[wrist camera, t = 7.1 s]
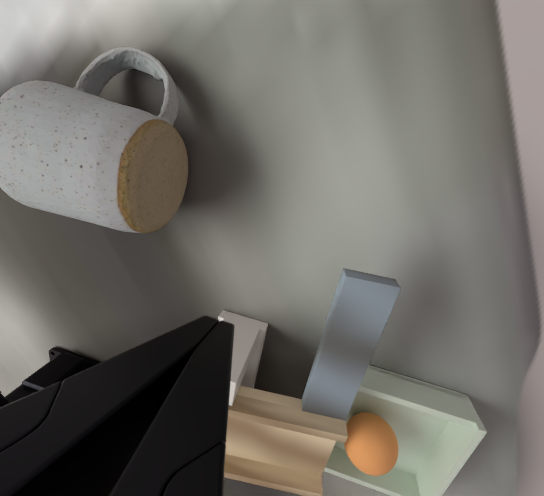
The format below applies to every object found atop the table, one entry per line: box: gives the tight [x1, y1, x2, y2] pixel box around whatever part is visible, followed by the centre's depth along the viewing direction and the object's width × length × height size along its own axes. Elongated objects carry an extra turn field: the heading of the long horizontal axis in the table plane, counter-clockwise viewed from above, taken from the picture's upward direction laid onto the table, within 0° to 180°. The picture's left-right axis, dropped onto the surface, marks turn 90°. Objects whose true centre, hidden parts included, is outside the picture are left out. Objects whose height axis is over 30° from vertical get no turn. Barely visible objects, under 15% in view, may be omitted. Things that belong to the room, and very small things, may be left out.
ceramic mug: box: [0, 47, 188, 233], centre depth 16 cm, size 11×8×8 cm
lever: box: [158, 268, 401, 496], centre depth 19 cm, size 18×15×5 cm
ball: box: [344, 412, 399, 476], centre depth 21 cm, size 4×4×4 cm
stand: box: [218, 310, 268, 406], centre depth 22 cm, size 12×4×6 cm, turn 169°
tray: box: [324, 365, 487, 496], centre depth 22 cm, size 10×9×3 cm
